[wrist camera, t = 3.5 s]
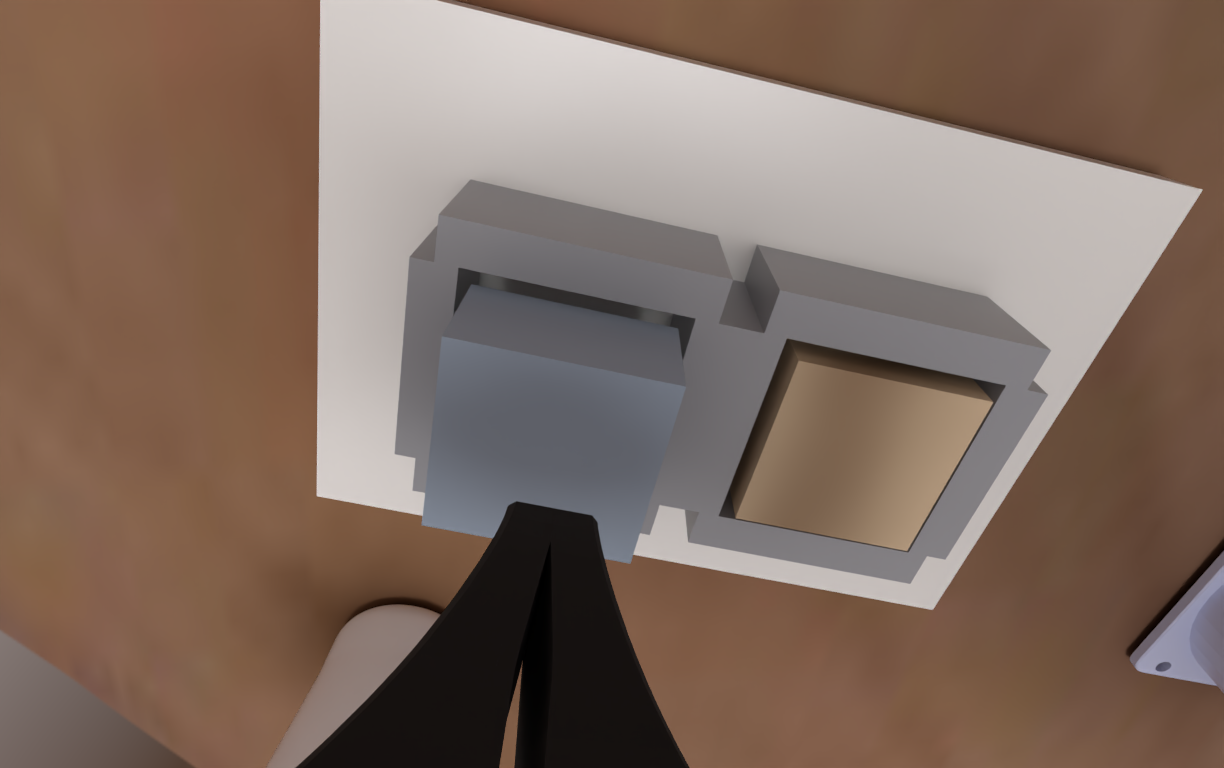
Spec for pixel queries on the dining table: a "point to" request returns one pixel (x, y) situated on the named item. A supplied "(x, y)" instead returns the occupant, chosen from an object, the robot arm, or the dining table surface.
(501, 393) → the key slate
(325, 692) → the drinking glass
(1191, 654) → the robot arm
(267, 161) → the dining table surface
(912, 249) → the key panel
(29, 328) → the dining table surface
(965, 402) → the key oak
